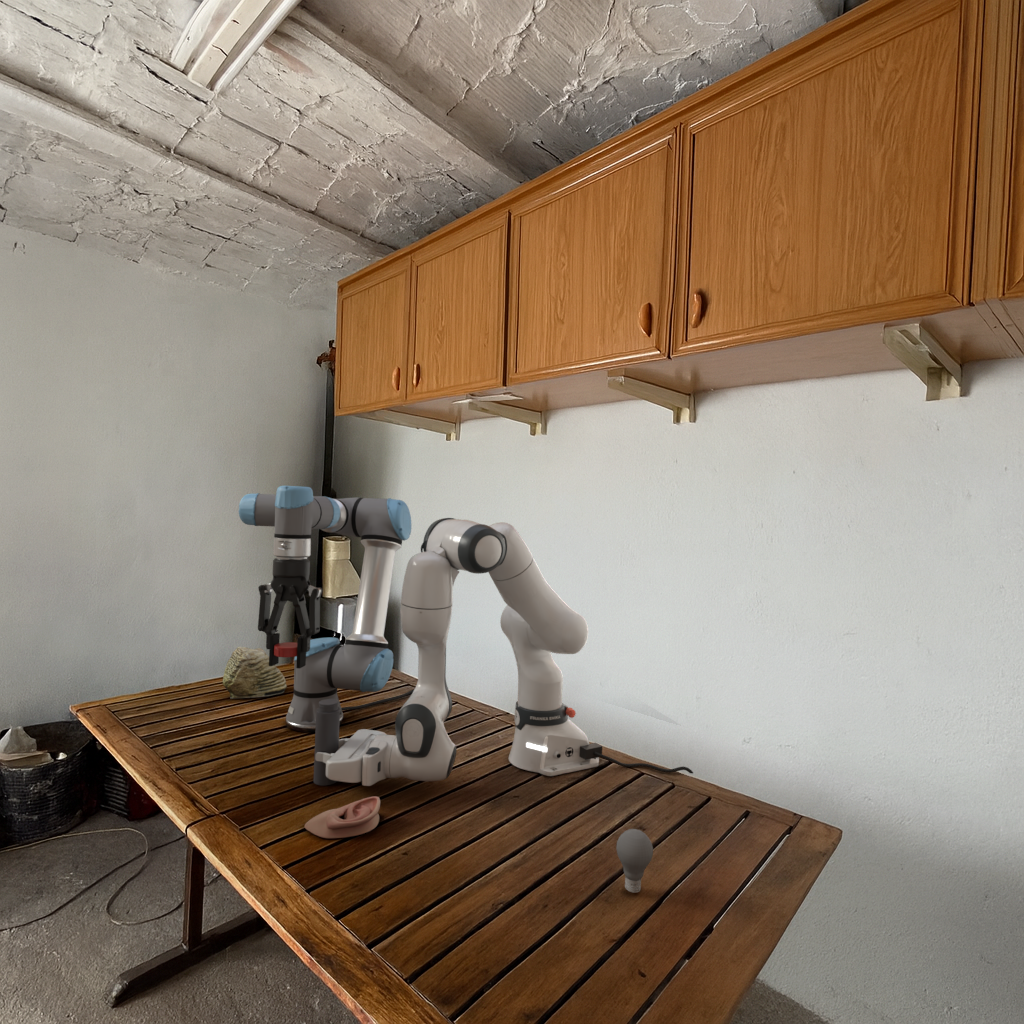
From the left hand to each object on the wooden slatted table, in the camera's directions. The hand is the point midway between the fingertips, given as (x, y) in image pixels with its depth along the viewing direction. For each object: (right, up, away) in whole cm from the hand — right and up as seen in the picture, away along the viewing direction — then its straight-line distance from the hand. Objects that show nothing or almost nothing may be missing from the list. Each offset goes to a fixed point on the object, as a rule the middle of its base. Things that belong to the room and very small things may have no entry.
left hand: (287, 665), depth 136 cm
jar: (+7, -27, +6) cm, 28 cm away
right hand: (+6, -20, +5) cm, 22 cm away
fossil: (-32, -24, +62) cm, 74 cm away
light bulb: (+68, -30, -30) cm, 81 cm away
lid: (0, +4, 0) cm, 4 cm away
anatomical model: (+15, -28, -13) cm, 34 cm away
